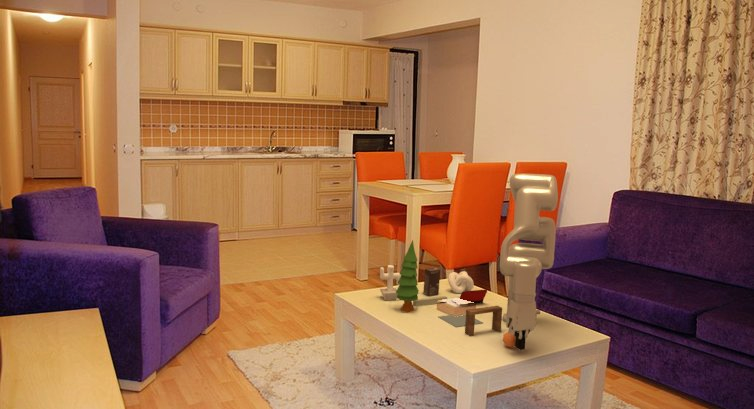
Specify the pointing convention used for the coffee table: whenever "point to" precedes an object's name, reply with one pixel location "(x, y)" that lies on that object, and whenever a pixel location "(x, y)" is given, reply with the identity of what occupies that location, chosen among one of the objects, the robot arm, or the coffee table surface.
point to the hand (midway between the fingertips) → (519, 348)
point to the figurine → (389, 283)
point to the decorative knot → (460, 282)
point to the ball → (509, 340)
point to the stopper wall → (428, 301)
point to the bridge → (472, 312)
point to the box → (431, 281)
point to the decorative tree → (408, 280)
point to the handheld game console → (474, 296)
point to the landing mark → (457, 320)
